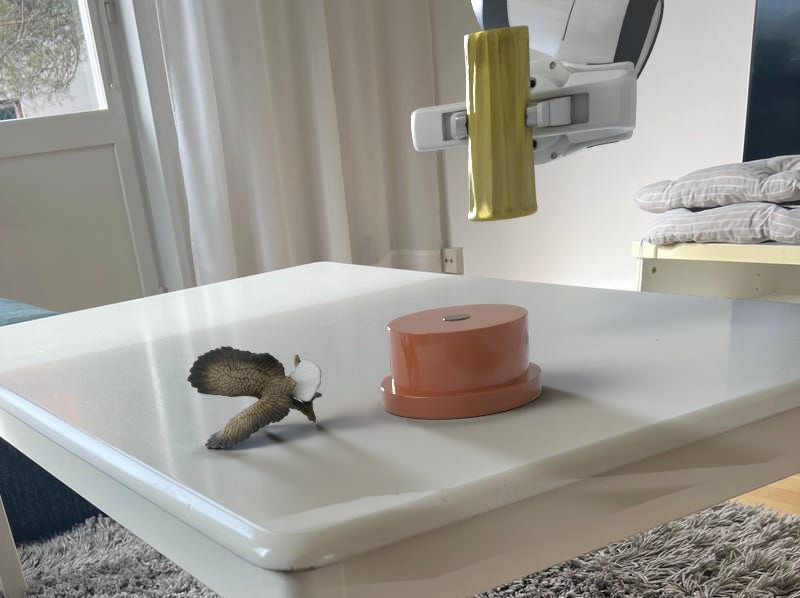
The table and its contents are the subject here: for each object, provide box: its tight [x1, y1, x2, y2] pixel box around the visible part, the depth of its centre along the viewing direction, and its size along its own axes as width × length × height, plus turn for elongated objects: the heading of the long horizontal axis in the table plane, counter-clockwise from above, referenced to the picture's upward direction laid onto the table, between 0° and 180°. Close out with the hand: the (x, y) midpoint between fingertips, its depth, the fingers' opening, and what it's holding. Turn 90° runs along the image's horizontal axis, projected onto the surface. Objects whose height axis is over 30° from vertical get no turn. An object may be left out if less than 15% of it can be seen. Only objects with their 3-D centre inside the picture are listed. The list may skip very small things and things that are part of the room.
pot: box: [379, 303, 543, 420], centre depth 75 cm, size 12×12×6 cm
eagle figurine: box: [186, 345, 323, 449], centre depth 72 cm, size 8×7×9 cm
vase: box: [463, 26, 539, 223], centre depth 84 cm, size 6×6×14 cm
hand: (496, 120), depth 83 cm, fingers closed on vase, 5 cm apart
